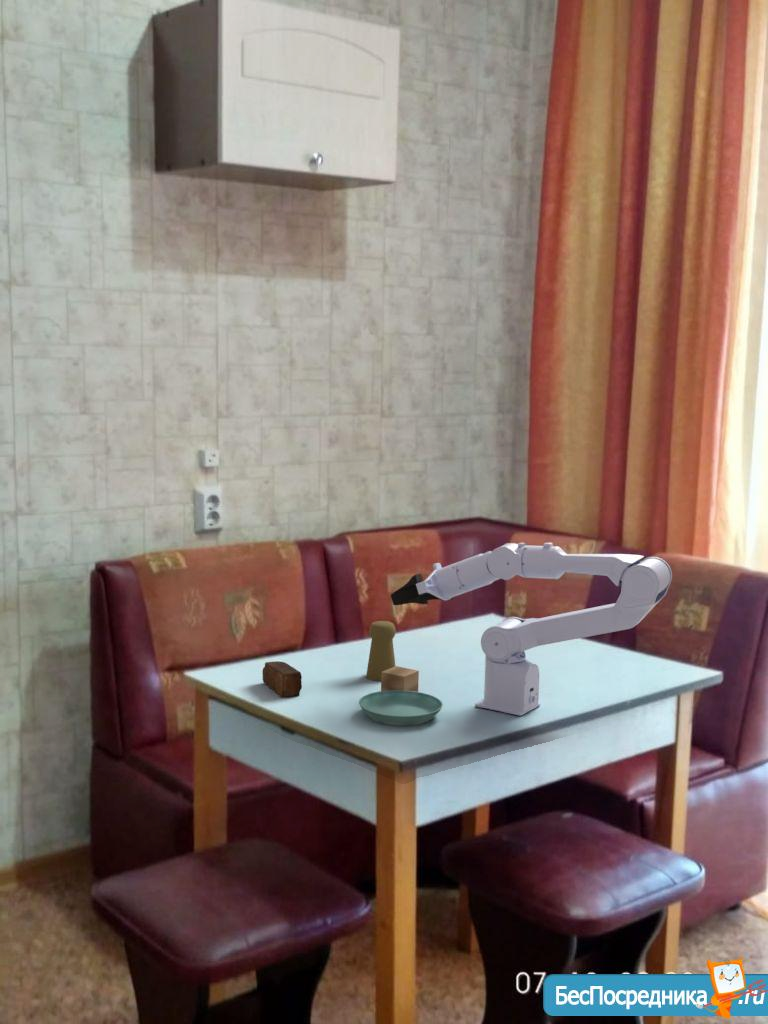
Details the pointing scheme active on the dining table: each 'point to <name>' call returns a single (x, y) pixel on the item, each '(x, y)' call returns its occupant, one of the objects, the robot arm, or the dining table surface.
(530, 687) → the robot arm
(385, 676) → the walnut block
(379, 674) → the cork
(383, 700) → the saucer
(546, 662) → the dining table surface
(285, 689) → the brick
